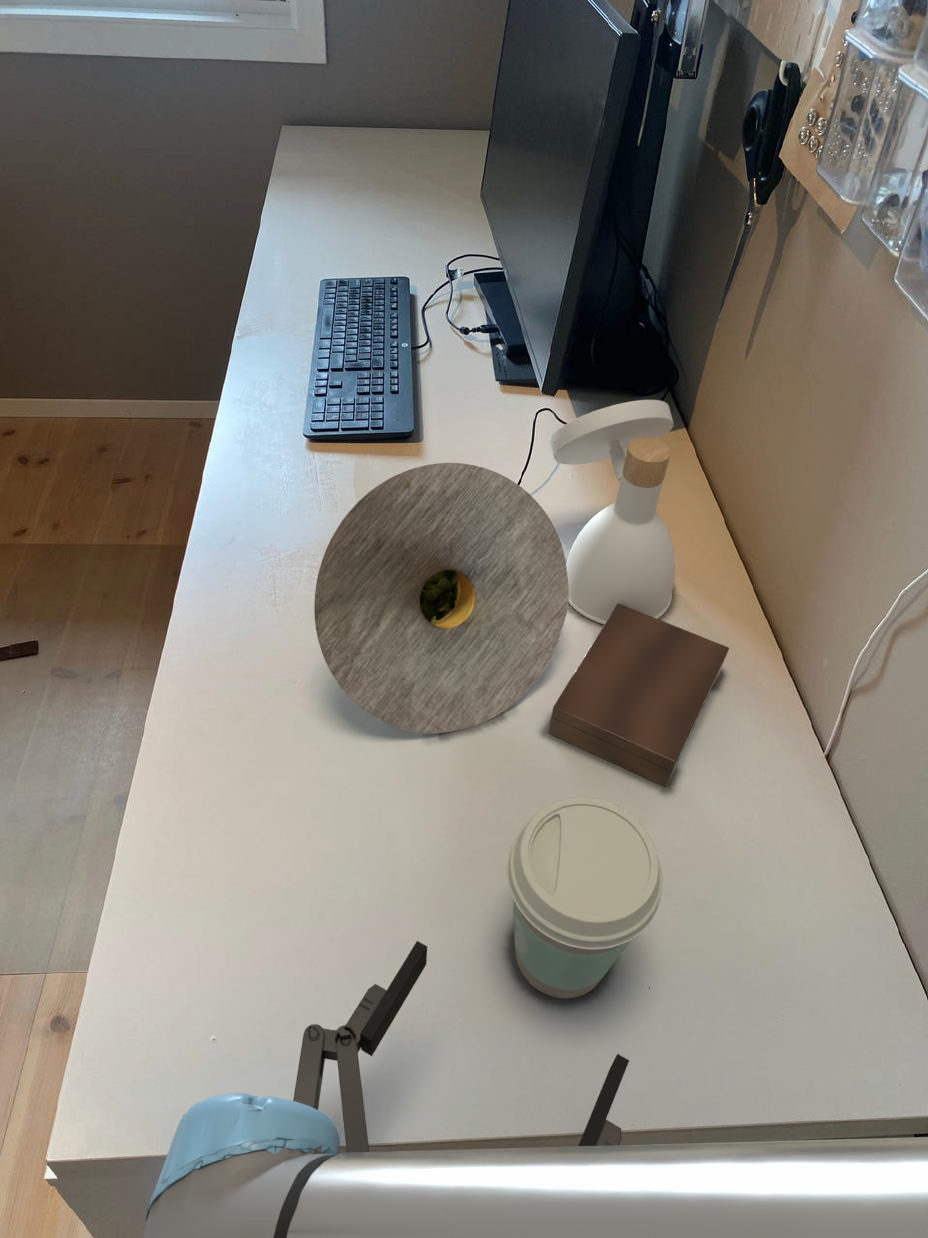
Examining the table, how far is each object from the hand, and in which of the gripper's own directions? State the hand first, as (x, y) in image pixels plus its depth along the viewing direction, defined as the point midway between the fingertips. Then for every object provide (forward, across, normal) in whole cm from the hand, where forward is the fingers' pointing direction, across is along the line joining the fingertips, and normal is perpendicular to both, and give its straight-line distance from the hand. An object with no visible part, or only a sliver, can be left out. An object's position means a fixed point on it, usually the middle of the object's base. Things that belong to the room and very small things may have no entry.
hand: (517, 1006), depth 56 cm
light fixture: (+53, -14, -13) cm, 57 cm away
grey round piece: (+32, -24, -13) cm, 42 cm away
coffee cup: (+10, 0, -13) cm, 16 cm away
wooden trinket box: (+37, -4, -13) cm, 40 cm away
